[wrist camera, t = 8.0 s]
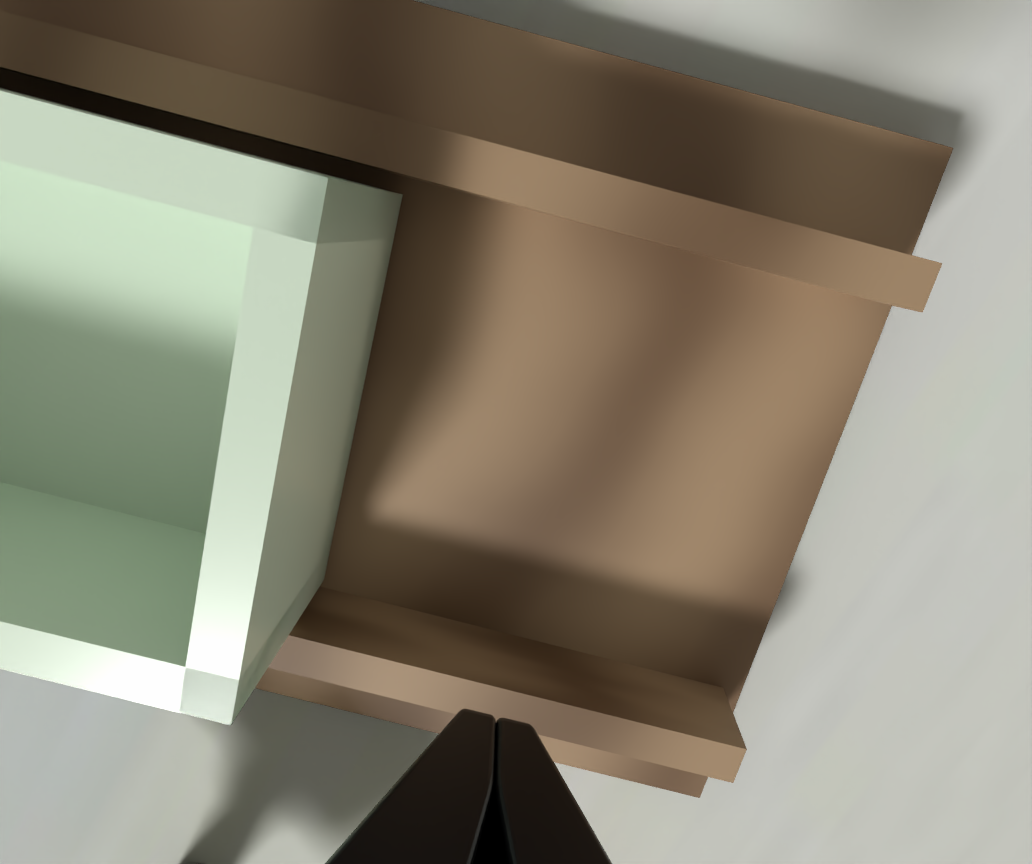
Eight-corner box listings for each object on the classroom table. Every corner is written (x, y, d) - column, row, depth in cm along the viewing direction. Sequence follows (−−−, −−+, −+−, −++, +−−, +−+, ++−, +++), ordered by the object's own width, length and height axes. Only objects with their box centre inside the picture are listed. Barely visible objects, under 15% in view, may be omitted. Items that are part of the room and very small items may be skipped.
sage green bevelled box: (-127, 466, 19) (-413, 567, 14) (-118, 55, 17) (-468, -34, 11) (324, 579, 20) (230, 725, 14) (402, 194, 17) (328, 177, 11)
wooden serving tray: (-205, 550, 22) (-344, 610, 18) (-210, -159, 17) (-400, -256, 14) (693, 773, 22) (718, 870, 19) (930, 152, 18) (1022, 134, 14)
